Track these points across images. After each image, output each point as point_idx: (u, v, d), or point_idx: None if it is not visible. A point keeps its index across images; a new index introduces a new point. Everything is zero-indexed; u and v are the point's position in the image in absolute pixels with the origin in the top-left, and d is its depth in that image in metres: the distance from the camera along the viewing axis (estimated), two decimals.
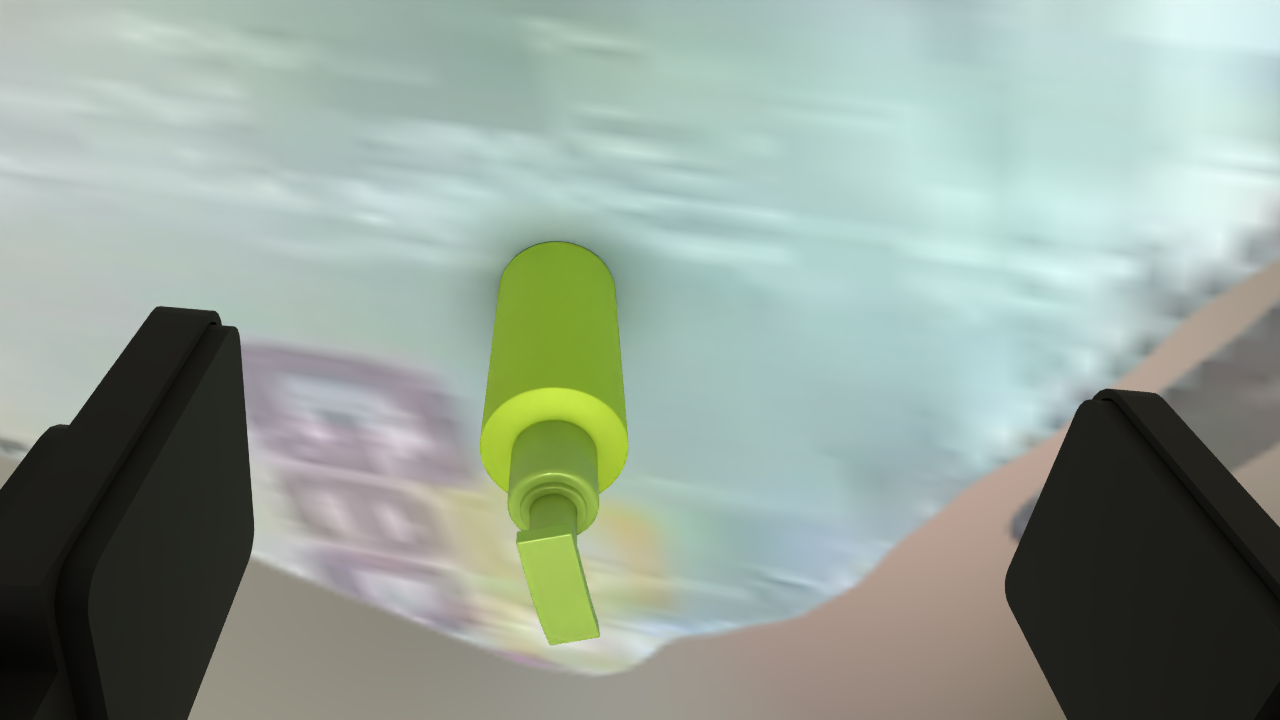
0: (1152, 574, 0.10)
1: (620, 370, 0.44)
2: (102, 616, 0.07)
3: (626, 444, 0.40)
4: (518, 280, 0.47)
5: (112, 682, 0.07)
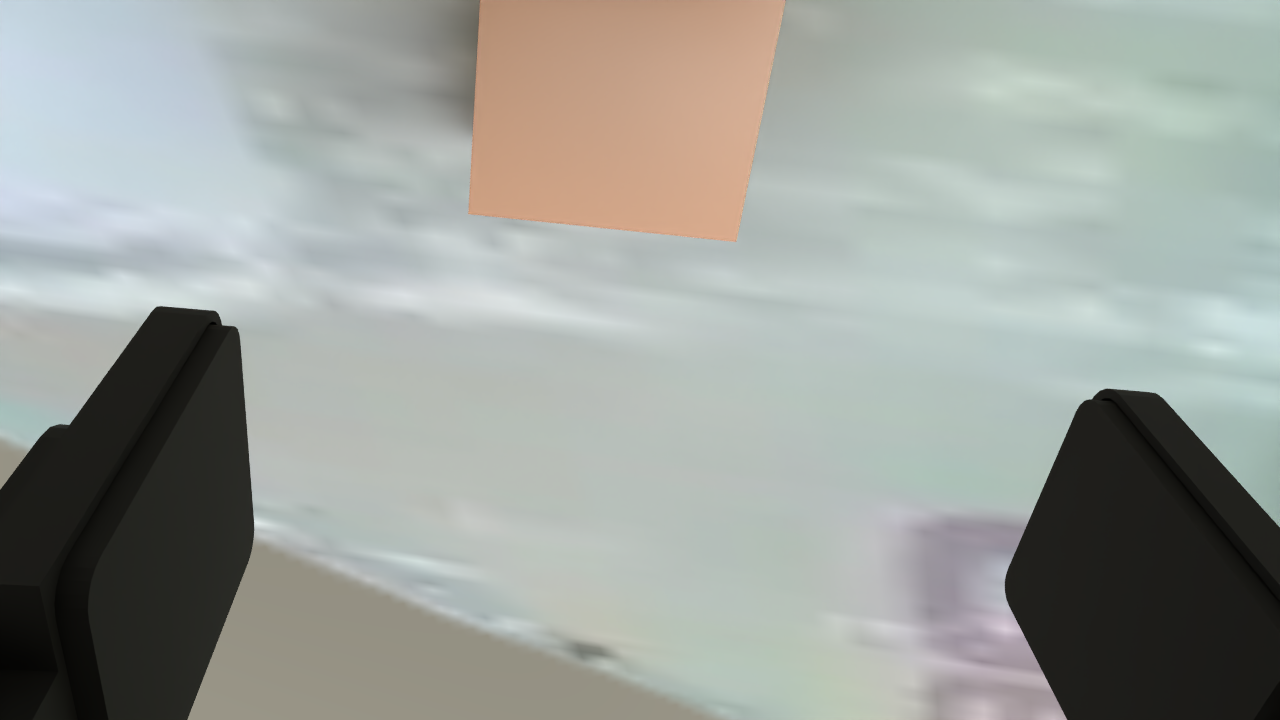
0: (1152, 574, 0.10)
1: None
2: (102, 616, 0.07)
3: None
4: None
5: (112, 682, 0.07)
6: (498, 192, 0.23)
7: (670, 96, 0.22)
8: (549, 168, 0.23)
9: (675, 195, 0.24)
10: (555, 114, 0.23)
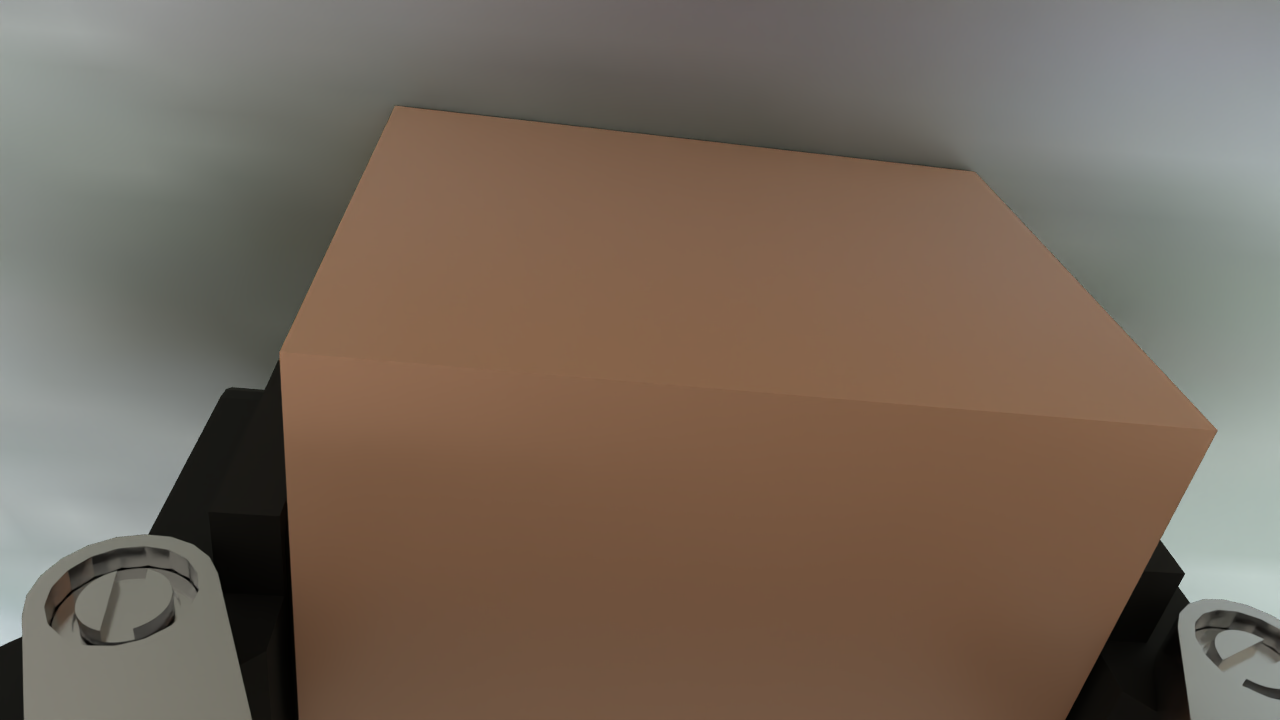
0: None
1: None
2: None
3: None
4: None
5: None
6: None
7: (825, 710, 0.08)
8: None
9: None
10: None
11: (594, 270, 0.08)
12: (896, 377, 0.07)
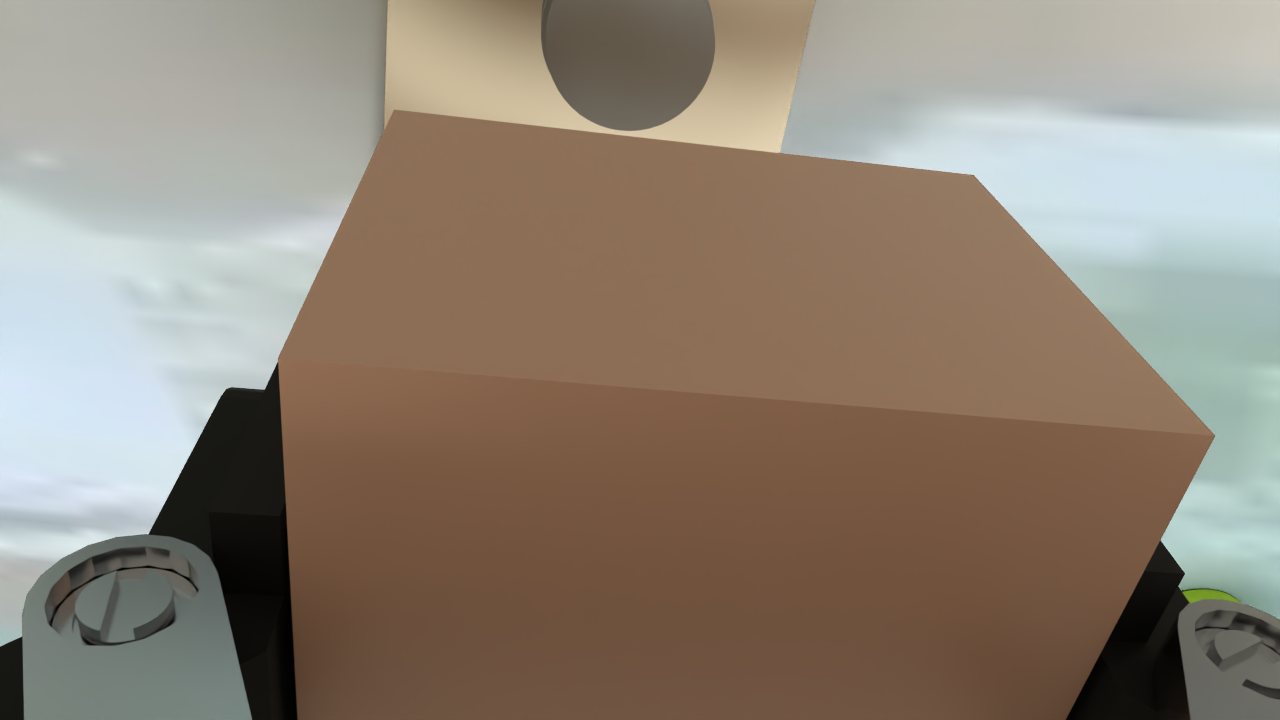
0: None
1: None
2: None
3: None
4: None
5: None
6: None
7: (824, 715, 0.08)
8: None
9: None
10: None
11: (591, 275, 0.08)
12: (894, 384, 0.07)
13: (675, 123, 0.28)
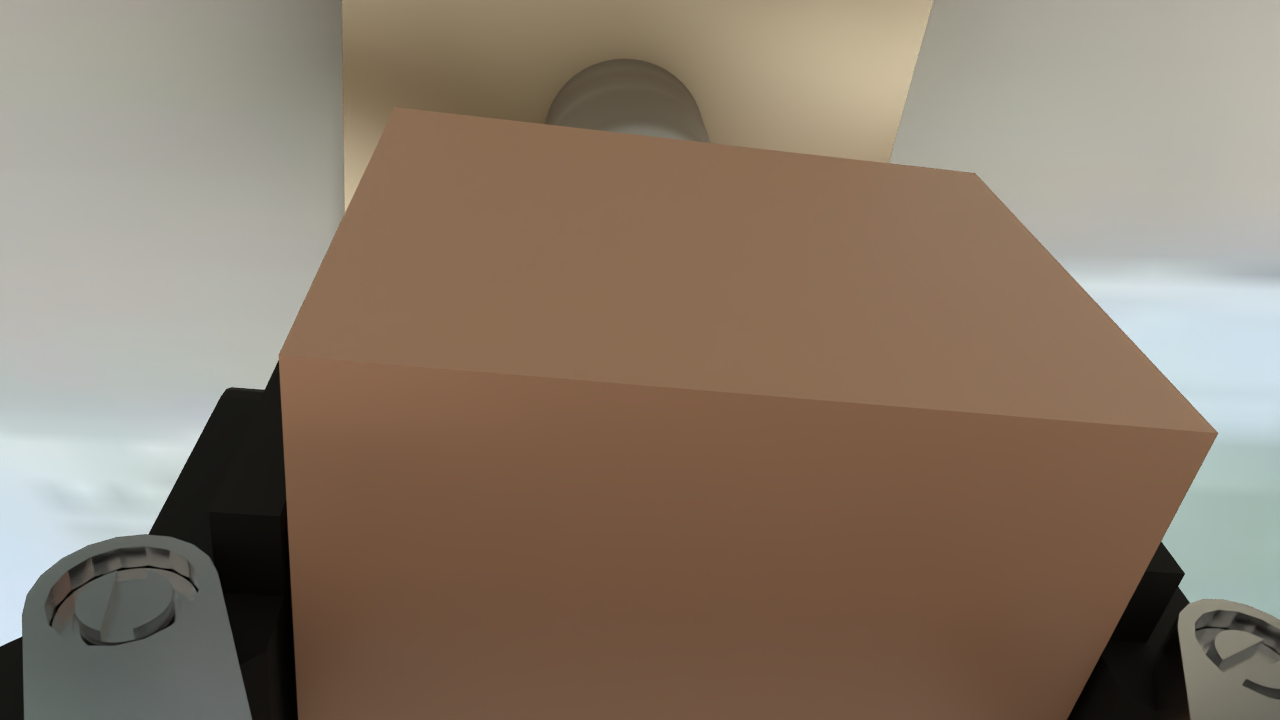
0: None
1: None
2: None
3: None
4: None
5: None
6: None
7: (825, 713, 0.08)
8: None
9: None
10: None
11: (594, 273, 0.08)
12: (896, 379, 0.07)
13: None
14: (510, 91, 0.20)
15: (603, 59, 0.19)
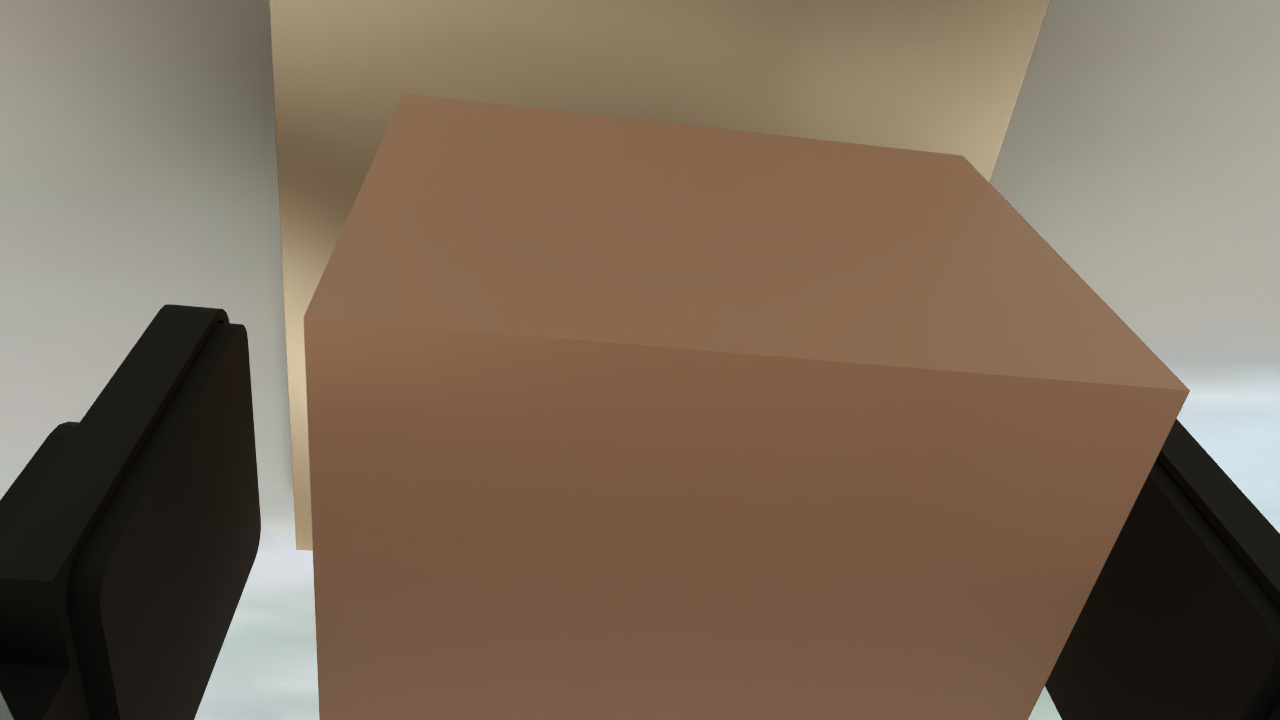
0: (1144, 570, 0.10)
1: None
2: (113, 612, 0.07)
3: None
4: None
5: (123, 677, 0.07)
6: None
7: (821, 666, 0.09)
8: None
9: None
10: (529, 709, 0.09)
11: (597, 245, 0.08)
12: (887, 342, 0.08)
13: None
14: None
15: None
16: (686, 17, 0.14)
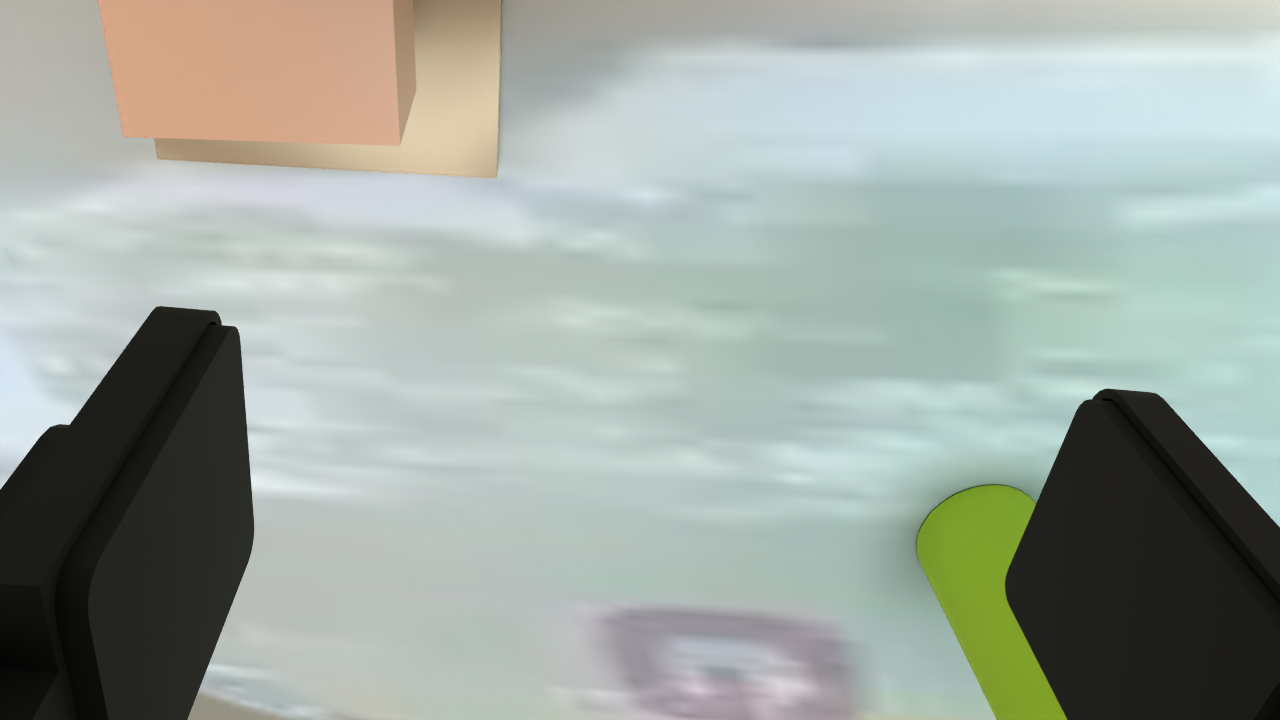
0: (1152, 574, 0.10)
1: None
2: (102, 616, 0.07)
3: None
4: (974, 543, 0.43)
5: (112, 682, 0.07)
6: (148, 112, 0.24)
7: (296, 0, 0.23)
8: (193, 83, 0.24)
9: (326, 101, 0.24)
10: (185, 27, 0.23)
11: None
12: None
13: None
14: None
15: None
16: None
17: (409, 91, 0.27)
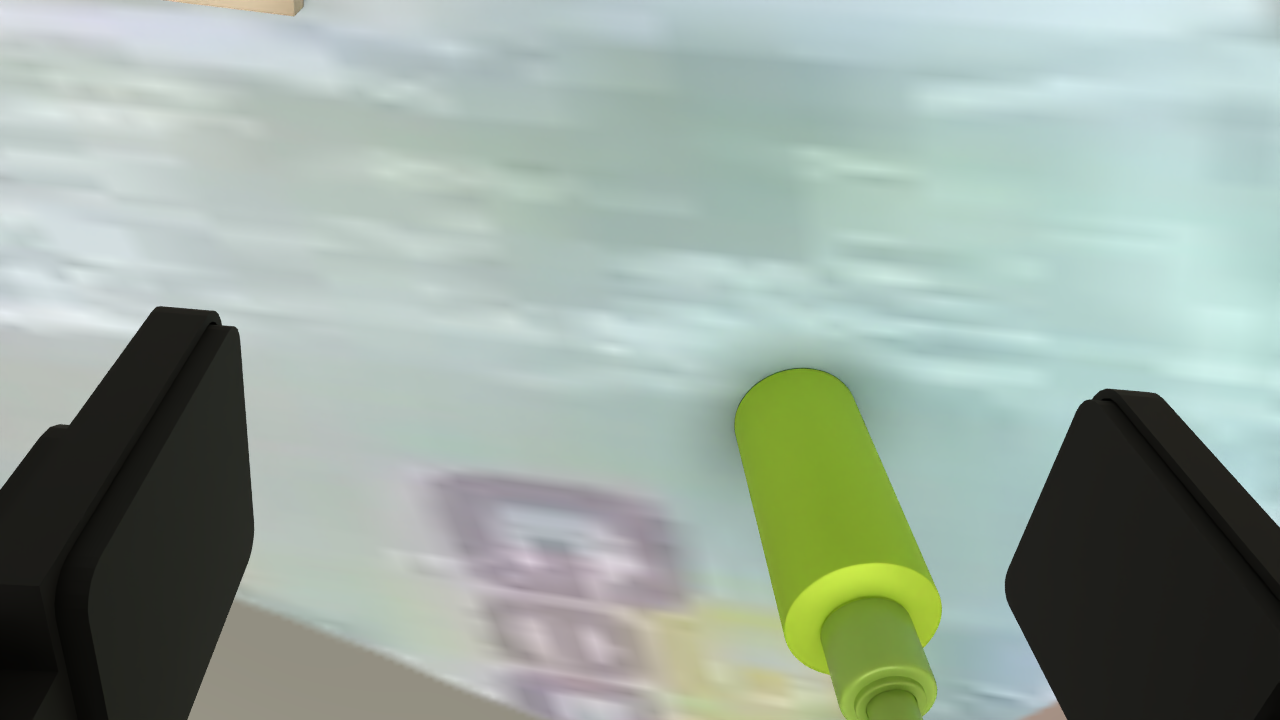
0: (1152, 574, 0.10)
1: None
2: (101, 616, 0.07)
3: (939, 616, 0.37)
4: (774, 417, 0.45)
5: (111, 682, 0.07)
6: None
7: None
8: None
9: None
10: None
11: None
12: None
13: None
14: None
15: None
16: None
17: None
